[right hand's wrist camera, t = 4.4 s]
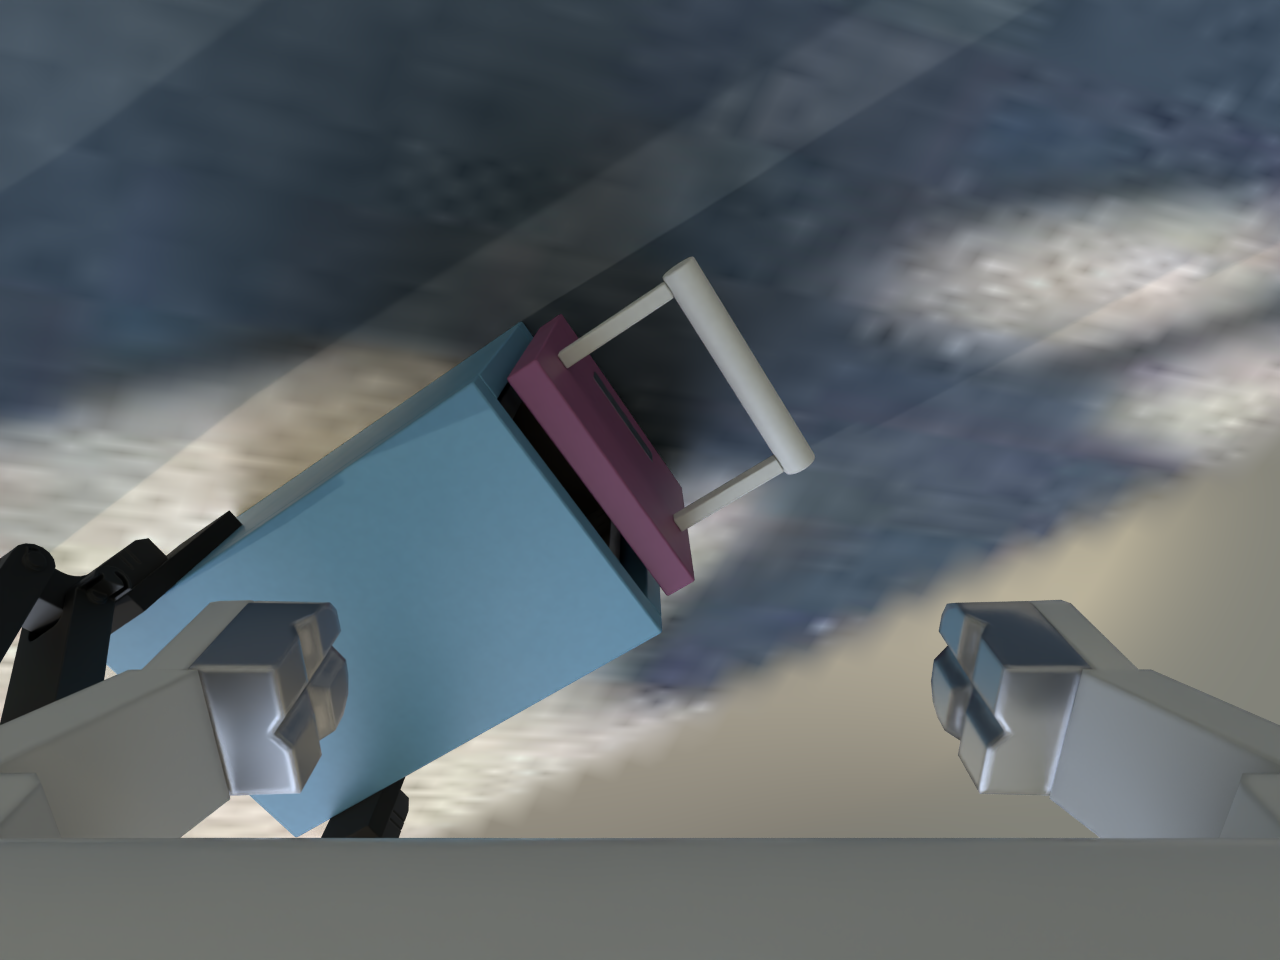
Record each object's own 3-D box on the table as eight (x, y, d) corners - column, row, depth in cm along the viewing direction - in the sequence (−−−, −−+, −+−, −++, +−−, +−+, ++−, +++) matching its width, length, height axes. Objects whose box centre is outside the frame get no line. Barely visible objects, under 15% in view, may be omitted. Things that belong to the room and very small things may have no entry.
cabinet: (521, 320, 33) (472, 381, 23) (656, 509, 37) (663, 632, 27) (233, 519, 37) (84, 646, 27) (380, 675, 40) (295, 839, 30)
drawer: (678, 233, 31) (692, 252, 23) (793, 421, 34) (841, 497, 26) (280, 504, 35) (175, 601, 27) (413, 650, 38) (353, 776, 30)
